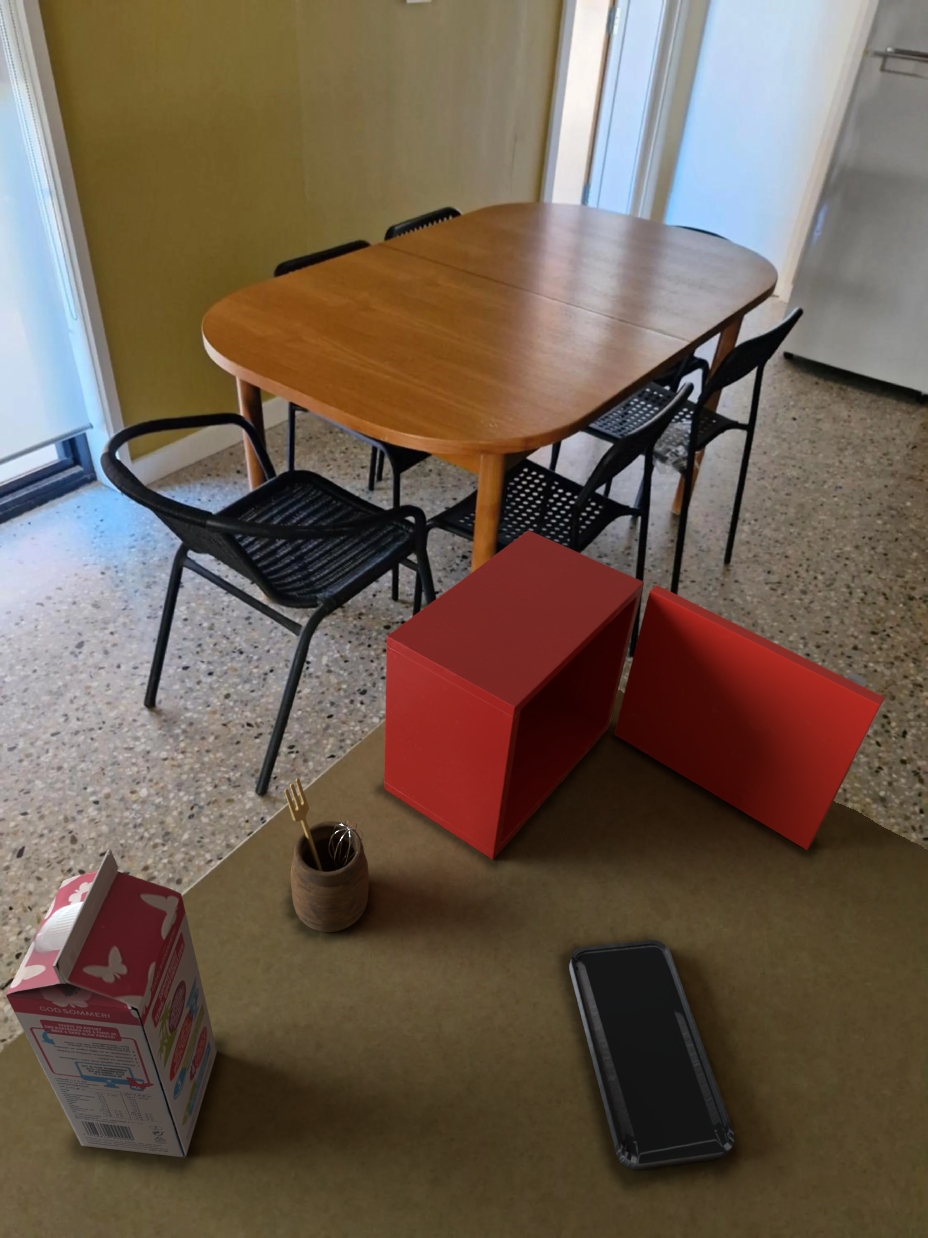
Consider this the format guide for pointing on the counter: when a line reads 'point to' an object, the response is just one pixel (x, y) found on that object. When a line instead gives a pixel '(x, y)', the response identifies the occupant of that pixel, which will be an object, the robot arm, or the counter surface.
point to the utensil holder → (327, 871)
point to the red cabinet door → (743, 715)
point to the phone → (648, 1057)
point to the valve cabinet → (505, 687)
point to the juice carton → (118, 1012)
